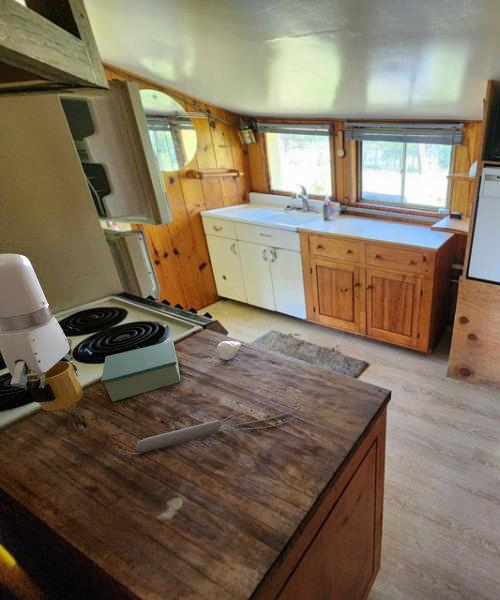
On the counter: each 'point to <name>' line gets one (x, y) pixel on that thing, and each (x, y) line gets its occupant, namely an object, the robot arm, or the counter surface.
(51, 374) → the cup
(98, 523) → the counter surface
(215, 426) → the kitchen whisk
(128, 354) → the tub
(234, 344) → the garlic bulb
